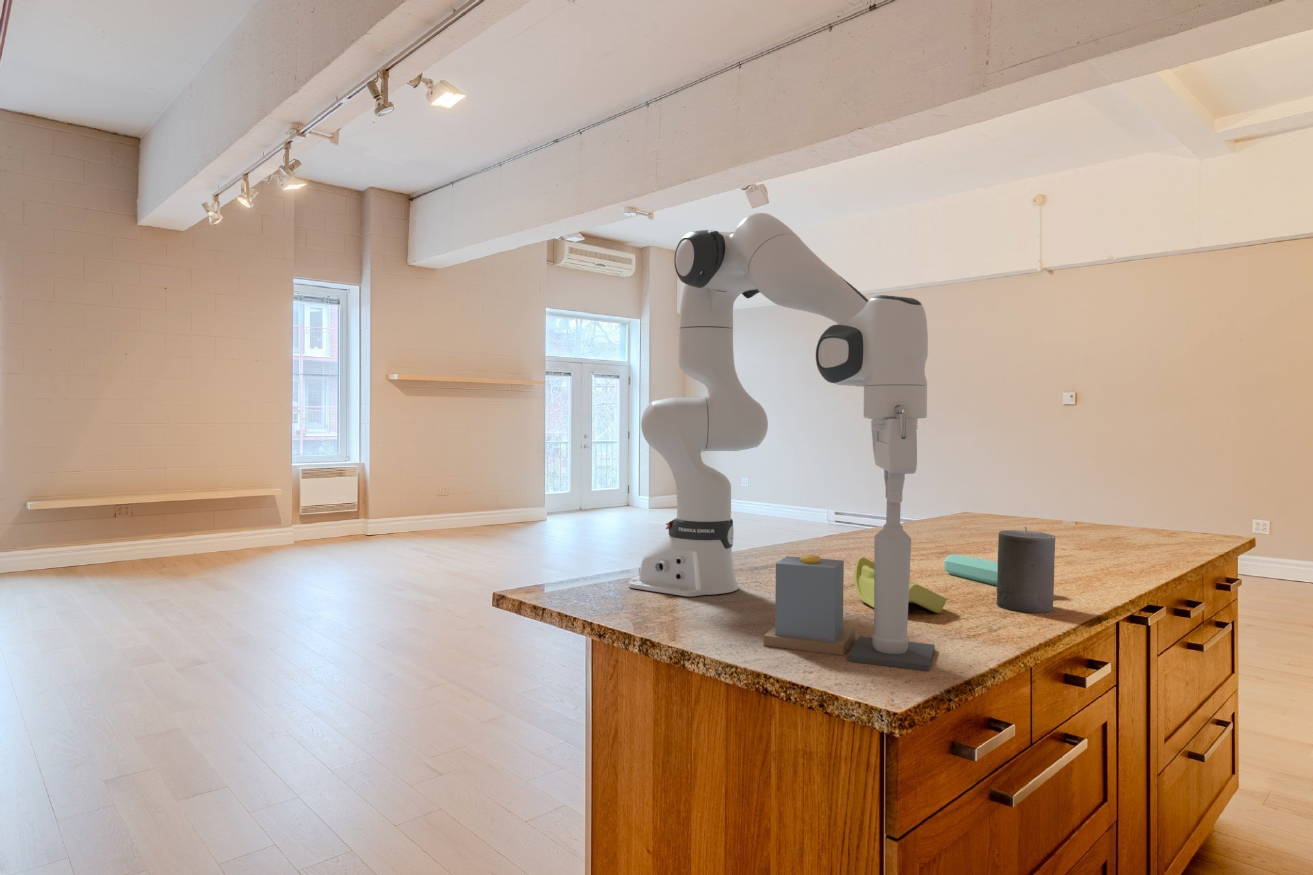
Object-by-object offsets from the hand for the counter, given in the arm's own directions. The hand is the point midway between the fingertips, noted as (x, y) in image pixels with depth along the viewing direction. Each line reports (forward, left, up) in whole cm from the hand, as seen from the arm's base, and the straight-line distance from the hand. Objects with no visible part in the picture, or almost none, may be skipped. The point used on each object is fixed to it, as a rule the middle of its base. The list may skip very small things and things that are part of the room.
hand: (893, 501), depth 114 cm
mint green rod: (+13, +63, -23) cm, 68 cm away
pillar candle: (+19, +42, -23) cm, 51 cm away
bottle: (0, 0, -22) cm, 22 cm away
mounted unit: (-12, +2, -23) cm, 26 cm away
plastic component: (-3, +34, -23) cm, 42 cm away
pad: (0, 0, -23) cm, 23 cm away
